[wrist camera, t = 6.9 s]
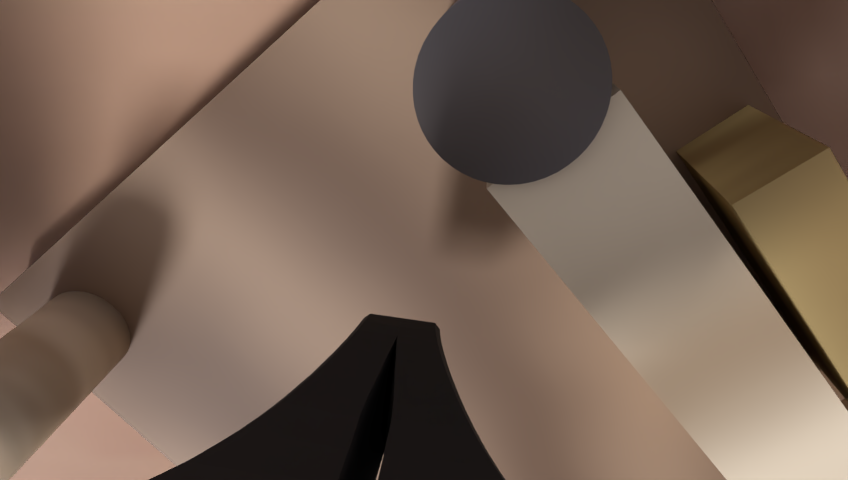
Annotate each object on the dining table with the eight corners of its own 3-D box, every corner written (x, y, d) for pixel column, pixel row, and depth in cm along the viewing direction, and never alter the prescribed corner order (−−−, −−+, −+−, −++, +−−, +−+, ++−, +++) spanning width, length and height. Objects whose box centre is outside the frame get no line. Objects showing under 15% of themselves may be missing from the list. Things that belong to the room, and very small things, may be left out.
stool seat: (418, 637, 21) (397, 834, 16) (23, 280, 16) (-168, 409, 11) (940, 418, 15) (1143, 619, 11) (566, -214, 11) (629, -356, 6)
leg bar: (401, 49, 12) (373, 76, 9) (520, -56, 11) (532, -65, 8) (710, 431, 15) (765, 546, 12) (824, 374, 14) (915, 484, 11)
